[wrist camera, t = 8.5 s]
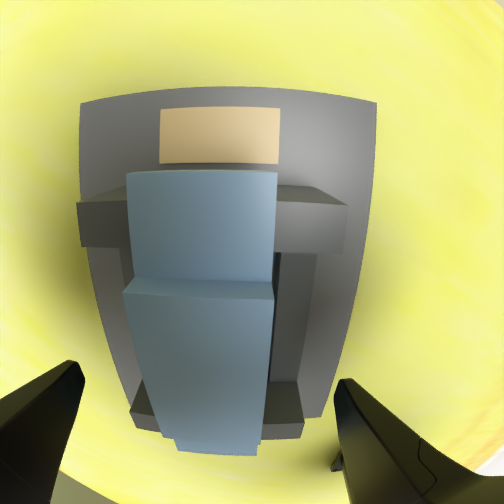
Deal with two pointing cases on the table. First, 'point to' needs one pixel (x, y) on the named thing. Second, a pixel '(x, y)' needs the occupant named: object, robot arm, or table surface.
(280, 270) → the chassis plate
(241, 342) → the block
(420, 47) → the table surface
